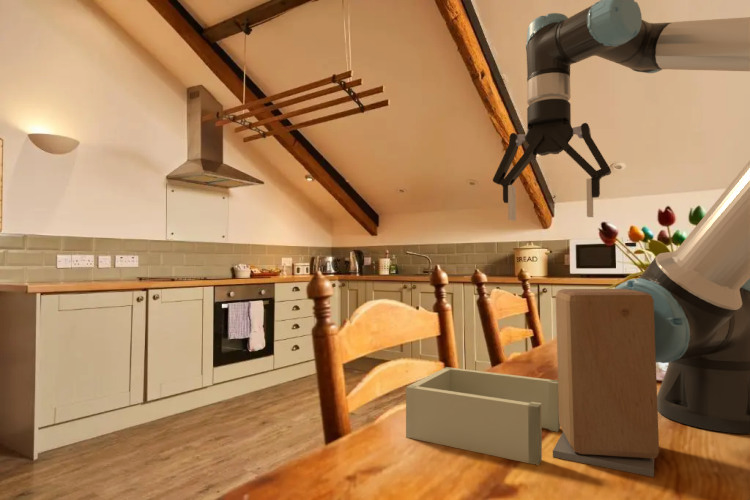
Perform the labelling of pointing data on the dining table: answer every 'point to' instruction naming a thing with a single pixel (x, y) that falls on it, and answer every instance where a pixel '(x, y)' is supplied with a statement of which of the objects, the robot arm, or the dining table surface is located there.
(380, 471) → the dining table surface
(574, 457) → the trivet
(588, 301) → the wooden block
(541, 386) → the crate
